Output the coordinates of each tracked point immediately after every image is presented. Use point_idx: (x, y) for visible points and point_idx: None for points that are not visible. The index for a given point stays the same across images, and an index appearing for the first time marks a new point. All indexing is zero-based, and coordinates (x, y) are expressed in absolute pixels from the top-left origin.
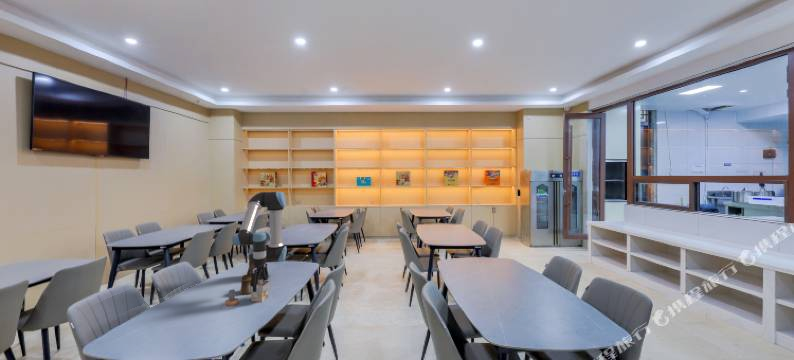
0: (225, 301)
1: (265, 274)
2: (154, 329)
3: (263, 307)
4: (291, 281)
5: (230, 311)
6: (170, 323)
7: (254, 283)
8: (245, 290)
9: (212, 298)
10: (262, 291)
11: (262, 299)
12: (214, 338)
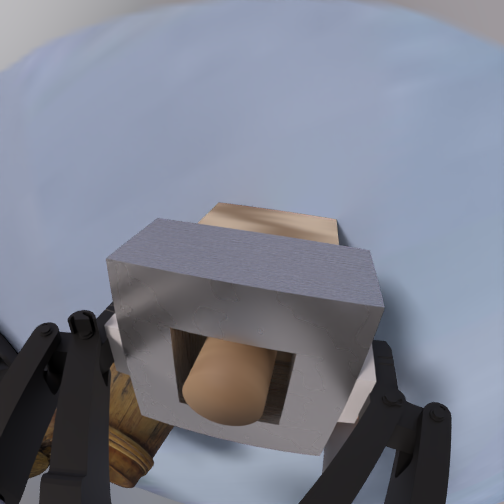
0: None
1: (61, 402)
2: (497, 477)
3: (469, 160)
4: None
5: (469, 370)
6: (477, 474)
7: (447, 444)
8: None
9: (258, 473)
10: (371, 261)
11: (329, 225)
12: None
